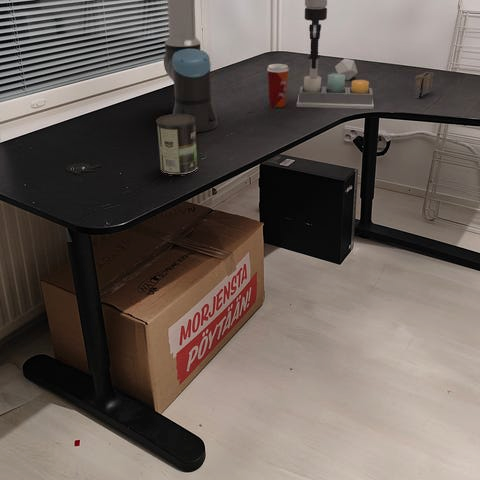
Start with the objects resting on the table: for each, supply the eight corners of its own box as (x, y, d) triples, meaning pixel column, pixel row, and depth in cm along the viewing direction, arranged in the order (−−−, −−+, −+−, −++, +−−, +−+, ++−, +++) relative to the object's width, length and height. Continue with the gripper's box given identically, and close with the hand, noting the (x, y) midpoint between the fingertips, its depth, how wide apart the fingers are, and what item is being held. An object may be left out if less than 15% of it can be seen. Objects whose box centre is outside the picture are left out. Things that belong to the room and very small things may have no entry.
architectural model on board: (419, 100, 223) (423, 73, 218) (412, 99, 224) (415, 72, 219) (431, 93, 230) (435, 67, 226) (424, 92, 232) (427, 66, 227)
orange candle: (350, 100, 216) (351, 83, 213) (350, 95, 221) (351, 79, 218) (367, 101, 215) (369, 84, 212) (367, 96, 220) (368, 79, 217)
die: (360, 81, 248) (357, 58, 250) (354, 74, 241) (350, 51, 242) (341, 86, 252) (338, 64, 253) (334, 80, 244) (331, 58, 246)
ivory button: (303, 96, 217) (303, 79, 215) (304, 91, 223) (304, 75, 220) (319, 96, 217) (320, 80, 214) (320, 92, 222) (321, 75, 219)
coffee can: (197, 161, 172) (195, 112, 165) (198, 175, 163) (195, 124, 156) (160, 162, 171) (157, 114, 164) (159, 176, 162) (155, 126, 155)
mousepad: (102, 165, 171) (101, 162, 171) (97, 175, 165) (97, 173, 164) (69, 165, 171) (68, 163, 171) (63, 176, 164) (62, 174, 164)
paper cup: (286, 108, 214) (287, 68, 207) (265, 107, 215) (265, 68, 208) (289, 102, 221) (290, 63, 214) (268, 101, 222) (268, 62, 215)
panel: (296, 106, 216) (297, 94, 214) (298, 96, 227) (299, 84, 225) (373, 109, 212) (374, 96, 210) (372, 98, 224) (373, 86, 221)
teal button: (327, 94, 216) (328, 77, 213) (327, 89, 221) (328, 73, 218) (344, 94, 215) (345, 77, 212) (344, 90, 220) (345, 73, 217)
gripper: (326, 10, 199) (323, 81, 211) (327, 4, 210) (324, 72, 222) (303, 10, 200) (301, 81, 212) (305, 4, 211) (303, 72, 223)
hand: (313, 76), depth 217 cm, fingers closed
